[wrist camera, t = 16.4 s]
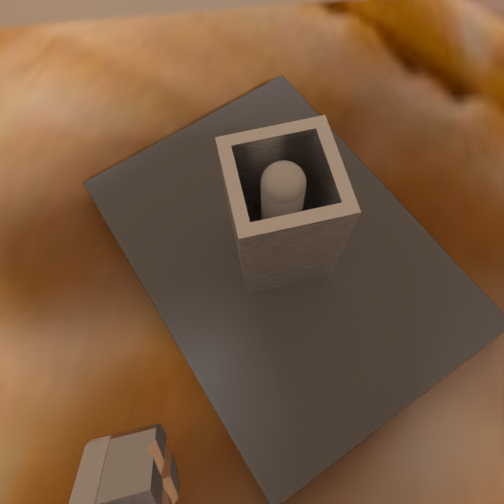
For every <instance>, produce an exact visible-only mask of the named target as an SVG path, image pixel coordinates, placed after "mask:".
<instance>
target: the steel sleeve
mask: <svg viewBox="0 0 504 504" xmlns="http://www.w3.org/2000/svg"><path fill="white" fill-rule="evenodd" d="M215 140H216V145H217V151H218V156H219V161H220V167H221V172H222V177H223V183H224V188H225V193H226V199H227V204H228V209H229V215H230V220H231V224H232V229H233V233H234V238H235V242H236V246H237V251H238V255H239V260H240V264H241V268H242V273H243V277H244V282H245V286H246V290H247V295H248V294H253V293H257V292H262V291H266V290H271V289H275V288H279V287H284V286H288V285H293V284H297V283H302V282H306V281H310V280H315V279H319V278H324V277H328V276H331V275H332V273H333V271H334V269H335V266H336V264H337V262H338V260H339V258H340V256H341V254H342V252H343V250H344V247H345V245H346V243H347V241H348V239H349V237H350V235H351V233H352V231H353V228H354V226H355V224H356V222H357V220H358V218H359V216H360V214H361V210H360V208H359V205H358V202H357V200H356V197H355V194H354V191H353V189H352V186H351V183H350V181H349V178H348V175H347V172H346V170H345V167H344V164H343V162H342V159H341V156H340V153H339V151H338V148H337V145H336V143H335V140H334V137H333V134H332V132H331V129H330V126H329V124H328V121H327V118H326V115H322V116H317V117H312V118H307V119H302V120H297V121H292V122H288V123H283V124H278V125H273V126H268V127H263V128H258V129H253V130H248V131H244V132H239V133H234V134H229V135H224V136H219V137H215ZM282 160H285V161H291V162H293V163H295V164H297V165H298V166H299V167H300V168H301V169H302V170H303V172H304V174H305V176H306V182H307V184H306V192H305V197H304V203H303V208H302V211H300V212H296V213H291V214H287V215H282V216H277V217H273V218H268V219H263V220H261V178H262V175H263V173H264V171H265V170H266V168H267V167H268V166H270V165H271V164H272V163H274V162H277V161H282Z"/></svg>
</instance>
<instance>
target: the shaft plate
mask: <svg viewBox="0 0 504 504" xmlns="http://www.w3.org/2000/svg"><path fill="white" fill-rule="evenodd" d="M317 116H320V115H319V114H318V113H317V112H316V111H315V110H314V109H313V108H312V107H311V105H310V104H309V103H308V102H307V101H306V100H305V99H304V98H303V97H302V96H301V95H300V94H299V92H298V91H297V90H296V89H295V88H294V87H293V86H292V85H291V84H290V83H289V82H288V81H287V80H286V78H285V77H284V76H283V75H281V76H280V77H278V78H276V79H274V80H272V81H270V82H268V83H267V84H265V85H263V86H261V87H259V88H257V89H256V90H254V91H252V92H250V93H248V94H246V95H244V96H243V97H241V98H239V99H237V100H235V101H233V102H231V103H230V104H228V105H226V106H224V107H222V108H220V109H219V110H217V111H215V112H213V113H211V114H209V115H207V116H206V117H204V118H202V119H200V120H198V121H196V122H194V123H193V124H191V125H189V126H187V127H185V128H183V129H182V130H180V131H178V132H176V133H174V134H172V135H170V136H169V137H167V138H165V139H163V140H161V141H159V142H157V143H156V144H154V145H152V146H150V147H148V148H146V149H145V150H143V151H141V152H139V153H137V154H135V155H133V156H132V157H130V158H128V159H126V160H124V161H122V162H120V163H119V164H117V165H115V166H113V167H111V168H109V169H108V170H106V171H104V172H102V173H100V174H98V175H96V176H95V177H93V178H91V179H89V180H87V181H85V182H83V184H84V186H85V187H86V189H87V191H88V192H89V194H90V196H91V198H92V199H93V201H94V203H95V204H96V206H97V208H98V210H99V211H100V213H101V215H102V217H103V218H104V220H105V222H106V223H107V225H108V227H109V229H110V230H111V232H112V234H113V235H114V237H115V239H116V241H117V242H118V244H119V246H120V247H121V249H122V251H123V253H124V254H125V256H126V258H127V260H128V261H129V263H130V265H131V266H132V268H133V270H134V272H135V273H136V275H137V277H138V278H139V280H140V282H141V284H142V285H143V287H144V289H145V290H146V292H147V294H148V296H149V297H150V299H151V301H152V303H153V304H154V306H155V308H156V309H157V311H158V313H159V315H160V316H161V318H162V320H163V321H164V323H165V325H166V327H167V328H168V330H169V332H170V333H171V335H172V337H173V339H174V340H175V342H176V344H177V346H178V347H179V349H180V351H181V352H182V354H183V356H184V358H185V359H186V361H187V363H188V364H189V366H190V368H191V370H192V371H193V373H194V375H195V376H196V378H197V380H198V382H199V383H200V385H201V387H202V389H203V390H204V392H205V394H206V395H207V397H208V399H209V401H210V402H211V404H212V406H213V407H214V409H215V411H216V413H217V414H218V416H219V418H220V420H221V421H222V423H223V425H224V426H225V428H226V430H227V432H228V433H229V435H230V437H231V438H232V440H233V442H234V444H235V445H236V447H237V449H238V450H239V452H240V454H241V456H242V457H243V459H244V461H245V463H246V464H247V466H248V468H249V469H250V471H251V473H252V475H253V476H254V478H255V480H256V481H257V483H258V485H259V487H260V488H261V490H262V492H263V493H264V495H265V497H266V499H267V500H268V502H269V504H282V503H283V502H284V501H286V500H287V499H288V498H290V497H291V496H292V495H293V494H295V493H296V492H297V491H299V490H300V489H301V488H302V487H304V486H305V485H306V484H308V483H309V482H310V481H311V480H313V479H314V478H315V477H317V476H318V475H319V474H321V473H322V472H323V471H324V470H326V469H327V468H328V467H330V466H331V465H332V464H333V463H335V462H336V461H337V460H339V459H340V458H341V457H342V456H344V455H345V454H346V453H348V452H349V451H350V450H351V449H353V448H354V447H355V446H357V445H358V444H359V443H360V442H362V441H363V440H364V439H366V438H367V437H368V436H370V435H371V434H372V433H373V432H375V431H376V430H377V429H379V428H380V427H381V426H382V425H384V424H385V423H386V422H388V421H389V420H390V419H391V418H393V417H394V416H395V415H397V414H398V413H399V412H400V411H402V410H403V409H404V408H406V407H407V406H408V405H410V404H411V403H412V402H413V401H415V400H416V399H417V398H419V397H420V396H421V395H422V394H424V393H425V392H426V391H428V390H429V389H430V388H431V387H433V386H434V385H435V384H437V383H438V382H439V381H440V380H442V379H443V378H444V377H446V376H447V375H448V374H450V373H451V372H452V371H453V370H455V369H456V368H457V367H459V366H460V365H461V364H462V363H464V362H465V361H466V360H468V359H469V358H470V357H471V356H473V355H474V354H475V353H477V352H478V351H479V350H480V349H482V348H483V347H484V346H486V345H487V344H488V343H489V342H491V341H492V340H493V339H495V338H496V337H497V336H499V335H500V334H501V333H502V332H504V314H503V313H502V312H501V311H500V309H499V308H498V307H497V306H496V305H495V304H494V303H493V302H492V301H491V300H490V299H489V298H488V296H487V295H486V294H485V293H484V292H483V291H482V290H481V289H480V288H479V287H478V286H477V285H476V284H475V282H474V281H473V280H472V279H471V278H470V277H469V276H468V275H467V274H466V273H465V272H464V271H463V269H462V268H461V267H460V266H459V265H458V264H457V263H456V262H455V261H454V260H453V259H452V258H451V257H450V255H449V254H448V253H447V252H446V251H445V250H444V249H443V248H442V247H441V246H440V245H439V244H438V243H437V241H436V240H435V239H434V238H433V237H432V236H431V235H430V234H429V233H428V232H427V231H426V230H425V228H424V227H423V226H422V225H421V224H420V223H419V222H418V221H417V220H416V219H415V218H414V217H413V216H412V214H411V213H410V212H409V211H408V210H407V209H406V208H405V207H404V206H403V205H402V204H401V203H400V202H399V200H398V199H397V198H396V197H395V196H394V195H393V194H392V193H391V192H390V191H389V190H388V189H387V187H386V186H385V185H384V184H383V183H382V182H381V181H380V180H379V179H378V178H377V177H376V176H375V175H374V173H373V172H372V171H371V170H370V169H369V168H368V167H367V166H366V165H365V164H364V163H363V162H362V160H361V159H360V158H359V157H358V156H357V155H356V154H355V153H354V152H353V151H352V150H351V149H350V148H349V146H348V145H347V144H346V143H345V142H344V141H343V140H342V139H341V138H340V137H339V136H338V135H337V134H336V132H335V131H334V130H333V129H332V128H331V127H330V129H331V132H332V134H333V137H334V140H335V143H336V145H337V148H338V151H339V153H340V156H341V159H342V162H343V164H344V167H345V170H346V172H347V175H348V178H349V181H350V183H351V186H352V189H353V191H354V194H355V197H356V200H357V202H358V205H359V208H360V210H361V214H360V216H359V218H358V220H357V222H356V224H355V226H354V228H353V231H352V233H351V235H350V237H349V239H348V241H347V243H346V245H345V247H344V250H343V252H342V254H341V256H340V258H339V260H338V262H337V264H336V266H335V269H334V271H333V273H332V275H331V276H328V277H324V278H319V279H315V280H310V281H306V282H302V283H297V284H293V285H288V286H284V287H279V288H275V289H271V290H266V291H262V292H257V293H253V294H248V295H247V290H246V286H245V282H244V277H243V273H242V268H241V264H240V260H239V255H238V251H237V246H236V242H235V238H234V233H233V229H232V224H231V220H230V215H229V209H228V204H227V199H226V193H225V188H224V183H223V177H222V172H221V167H220V161H219V156H218V151H217V145H216V140H215V137H219V136H224V135H229V134H234V133H239V132H244V131H248V130H253V129H258V128H263V127H268V126H273V125H278V124H283V123H288V122H292V121H297V120H302V119H307V118H312V117H317ZM306 184H307V182H306V176H305V174H304V172H303V170H302V169H301V168H300V167H299V166H298V165H297V164H295V163H293V162H291V161H285V160H282V161H277V162H274V163H272V164H271V165H270V166H268V167H267V168H266V170H265V171H264V173H263V175H262V178H261V220H263V219H268V218H273V217H277V216H282V215H287V214H291V213H296V212H300V211H302V208H303V203H304V197H305V192H306Z"/></svg>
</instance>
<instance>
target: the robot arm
mask: <svg viewBox="0 0 504 504" xmlns="http://www.w3.org/2000/svg"><path fill="white" fill-rule="evenodd" d="M165 443H166V435H165V432H164V430H163V428H162V425H160V424H154V425H150V426H146V427H141V428H137V429H133V430H129V431H124V432H120V433H116V434H113V435H110V436H106V437H102V438H97V439H93V440H90V441H89V442H88V443H87V445H86V446H85V448H84V452H83V455H82V458H81V462H80V465H79V469H78V472H77V476H76V479H75V482H74V486H73V489H72V493H71V496H70V500H69V503H68V504H175V502H176V500H177V499H178V497H179V483H178V474H177V467H176V463H175V459H174V456H173V453H172V451H171V450H170V449H168V448H166V447H165Z"/></svg>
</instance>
